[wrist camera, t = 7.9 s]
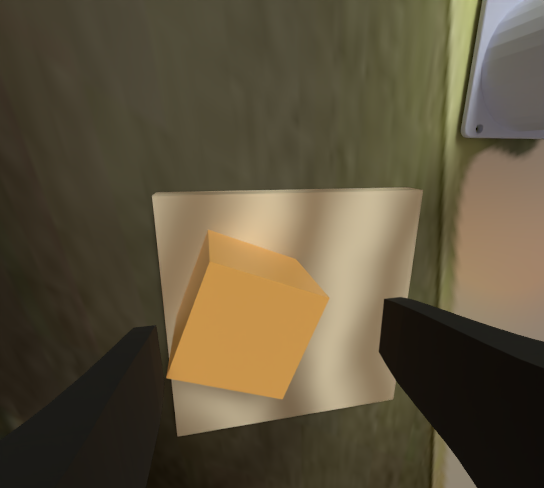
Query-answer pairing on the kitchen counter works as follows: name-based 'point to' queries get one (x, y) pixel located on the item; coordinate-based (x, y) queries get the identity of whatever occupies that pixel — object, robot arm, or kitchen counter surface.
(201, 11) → the kitchen counter surface
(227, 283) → the tilted amber cube
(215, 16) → the kitchen counter surface
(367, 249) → the board
